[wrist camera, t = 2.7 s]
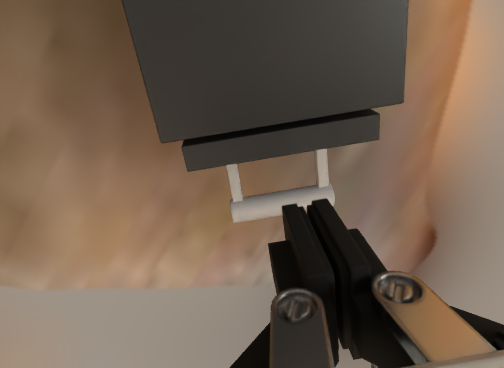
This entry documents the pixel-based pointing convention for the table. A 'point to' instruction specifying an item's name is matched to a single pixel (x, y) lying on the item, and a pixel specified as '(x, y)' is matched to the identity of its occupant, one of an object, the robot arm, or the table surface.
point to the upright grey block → (265, 60)
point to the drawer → (280, 144)
